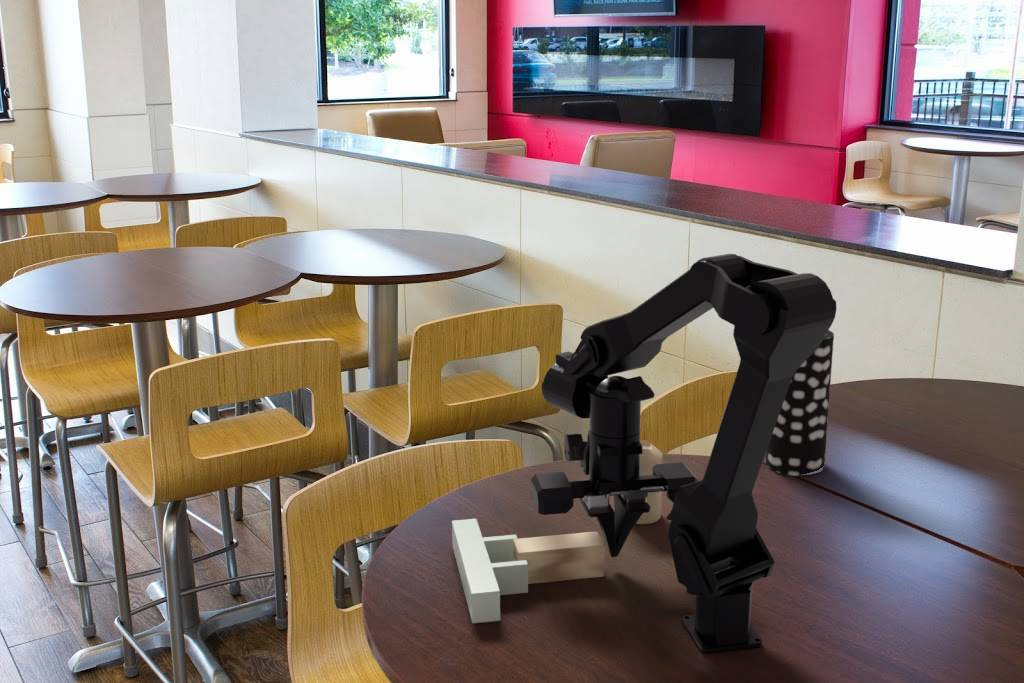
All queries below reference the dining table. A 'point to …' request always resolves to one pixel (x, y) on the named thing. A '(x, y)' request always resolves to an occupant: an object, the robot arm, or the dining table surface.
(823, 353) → the spotted tube
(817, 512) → the dining table surface
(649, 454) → the candle
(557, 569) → the tan wooden block
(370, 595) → the dining table surface
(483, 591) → the rail
